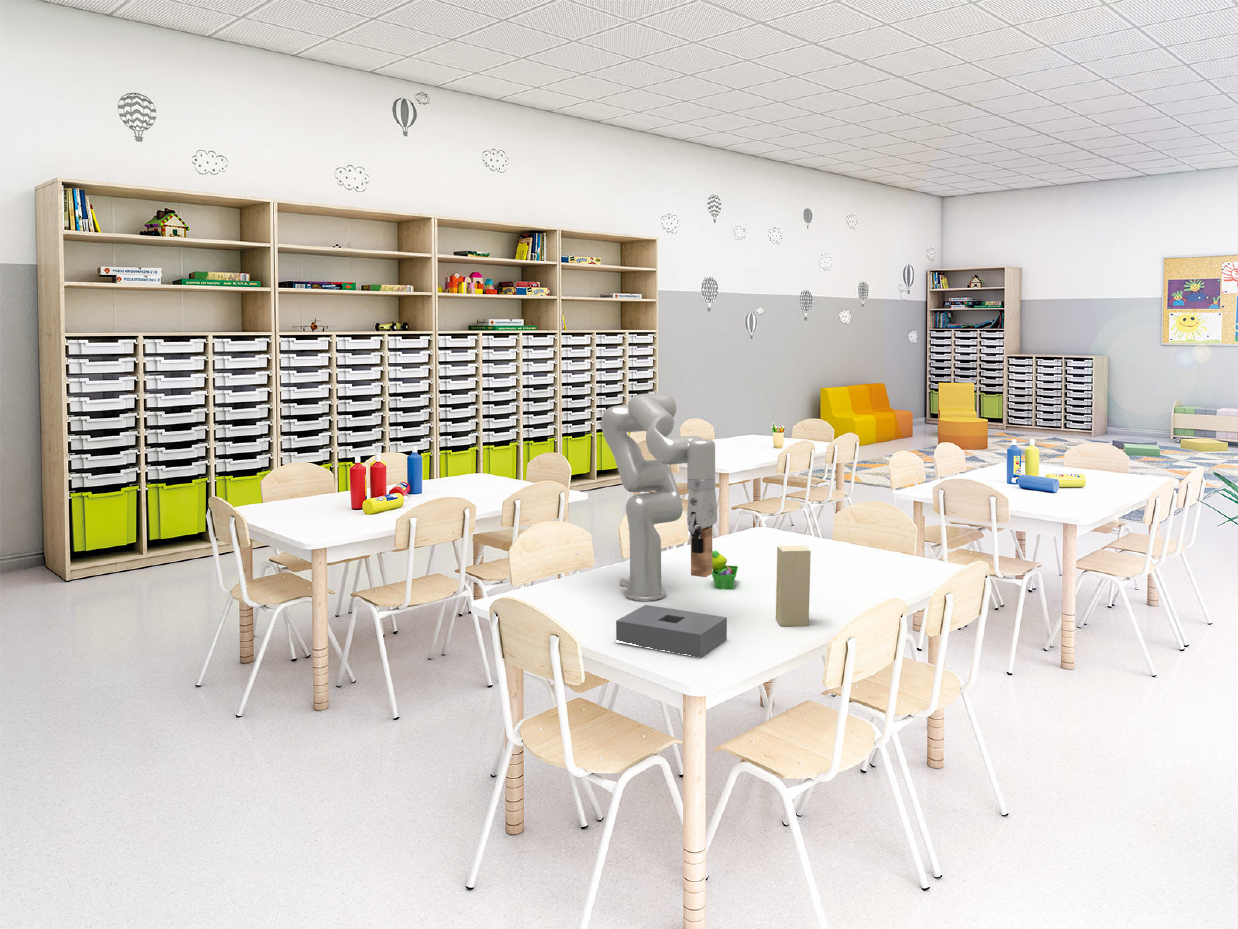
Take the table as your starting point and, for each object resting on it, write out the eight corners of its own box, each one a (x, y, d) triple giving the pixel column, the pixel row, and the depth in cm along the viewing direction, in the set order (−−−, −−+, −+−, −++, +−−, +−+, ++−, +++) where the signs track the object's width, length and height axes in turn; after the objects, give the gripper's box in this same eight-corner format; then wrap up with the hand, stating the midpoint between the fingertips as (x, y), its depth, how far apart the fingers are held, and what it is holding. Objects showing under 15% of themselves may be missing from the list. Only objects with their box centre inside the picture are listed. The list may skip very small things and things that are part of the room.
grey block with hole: (616, 643, 238) (616, 620, 237) (645, 626, 252) (645, 604, 251) (700, 658, 226) (700, 634, 225) (726, 639, 240) (726, 617, 239)
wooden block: (690, 575, 251) (690, 528, 250) (697, 571, 255) (697, 525, 253) (705, 577, 249) (705, 530, 247) (712, 573, 253) (712, 527, 251)
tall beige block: (803, 617, 257) (804, 544, 254) (809, 626, 250) (810, 550, 247) (775, 618, 257) (775, 545, 254) (780, 626, 250) (781, 551, 247)
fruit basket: (736, 590, 285) (736, 555, 284) (707, 589, 287) (707, 554, 285) (737, 581, 297) (738, 547, 295) (710, 580, 298) (710, 546, 297)
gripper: (700, 490, 240) (700, 558, 242) (726, 481, 254) (726, 546, 257) (674, 488, 243) (675, 555, 246) (701, 479, 258) (701, 543, 260)
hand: (701, 550), depth 251 cm, fingers closed on wooden block, 4 cm apart
